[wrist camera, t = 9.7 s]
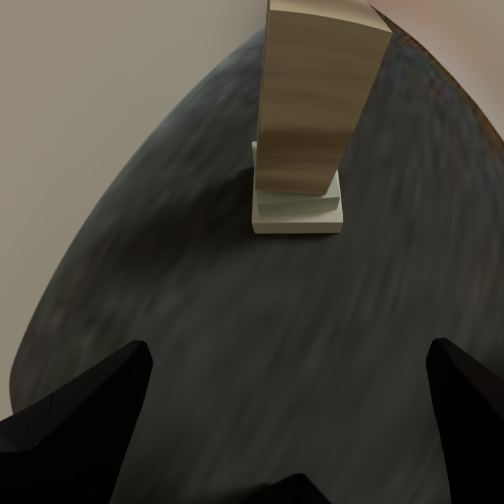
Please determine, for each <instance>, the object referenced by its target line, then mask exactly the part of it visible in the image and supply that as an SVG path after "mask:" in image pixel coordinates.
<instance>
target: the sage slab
mask: <svg viewBox="0 0 504 504" xmlns="http://www.w3.org/2000/svg"><path fill="white" fill-rule="evenodd" d="M252 147H253V159H254V171H255V178H256V152H257V142H252ZM256 195H257V206H258V210H259V214H260V217H269V216H278V215H287V214H296V213H306V212H316V211H326V210H337V208H338V204H339V200H340V193H339V189H338V185H337V180H336V176H335V175H334V178H333V180H332V182H331V184H330V187H329V189H328V191H327V193H326V195H318V194H305V193H292V192H277V191H260V190H256Z"/></svg>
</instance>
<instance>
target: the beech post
mask: <svg viewBox="0 0 504 504" xmlns="http://www.w3.org/2000/svg"><path fill="white" fill-rule="evenodd" d="M391 35H392V31H391V30H390V29H389V28H388V26H387V25H386V24H385V23H384V21H383V20H382V19H381V18H380V17H379V15H378V14H377V13H376V12H375V11H374V9H373V8H372V7H371V6H370V5H369V4H368V3H367V2H366V0H268V3H267V15H266V28H265V41H264V53H263V66H262V79H261V92H260V105H259V119H258V132H257V152H256V178H255V190H260V191H277V192H292V193H305V194H318V195H326V193H327V191H328V189H329V187H330V184H331V182H332V180H333V178H334V175H335V173H336V171H337V169H338V166H339V164H340V162H341V159H342V157H343V155H344V153H345V150H346V148H347V146H348V143H349V141H350V139H351V136H352V134H353V131H354V129H355V127H356V124H357V122H358V120H359V117H360V115H361V112H362V110H363V107H364V105H365V102H366V100H367V98H368V95H369V93H370V90H371V88H372V85H373V83H374V80H375V77H376V75H377V72H378V70H379V67H380V65H381V62H382V59H383V57H384V54H385V51H386V49H387V46H388V43H389V41H390V38H391Z"/></svg>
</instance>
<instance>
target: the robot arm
mask: <svg viewBox="0 0 504 504" xmlns="http://www.w3.org/2000/svg"><path fill="white" fill-rule="evenodd" d="M152 367H153V359H152V356H151V354H150V351H149V349H148V346H147V344H146V342H144V341H139V340H133V341H131V342H130V343H128V344H127V345H125V346H123V347H122V348H120V349H119V350H117V351H116V352H114V353H113V354H111V355H110V356H108V357H107V358H105V359H104V360H102V361H100V362H99V363H97V364H96V365H94V366H93V367H91V368H90V369H88V370H87V371H85V372H83V373H82V374H80V375H79V376H77V377H76V378H74V379H73V380H71V381H69V382H68V383H66V384H65V385H63V386H62V387H60V388H59V389H57V390H55V391H54V393H53V392H52V393H51V394H49V395H48V396H46V397H44V398H43V399H41V400H39V401H38V402H36V403H35V404H33V405H31V406H29V407H27V408H25V409H23V410H22V411H20V412H18V413H16V414H14V415H12V416H10V417H8V418H6V419H4V420H2V421H0V504H109V502H110V499H111V496H112V493H113V490H114V487H115V484H116V480H117V477H118V474H119V471H120V468H121V465H122V462H123V459H124V457H125V454H126V451H127V448H128V445H129V442H130V439H131V436H132V434H133V431H134V428H135V425H136V422H137V420H138V417H139V414H140V411H141V409H142V406H143V402H144V399H145V395H146V391H147V387H148V383H149V379H150V375H151V371H152ZM426 369H427V374H428V380H429V386H430V392H431V398H432V404H433V408H434V413H435V417H436V421H437V425H438V429H439V433H440V438H441V442H442V447H443V452H444V457H445V462H446V468H447V474H448V480H449V487H450V494H451V502H452V504H504V381H503V380H502V379H501V378H499V377H498V376H497V375H495V374H494V373H493V372H491V371H490V370H489V369H487V368H486V367H485V366H483V365H482V364H481V363H479V362H478V361H477V360H475V359H474V358H473V357H471V356H470V355H469V354H467V353H466V352H464V351H463V350H462V349H460V348H459V347H458V346H456V345H455V344H453V343H452V342H451V341H449V340H448V339H446V338H437V339H434V340H433V341H432V343H431V346H430V349H429V352H428V354H427V357H426ZM298 478H303V480H302V481H298V480H297V479H298ZM240 504H332V503H331V502H330V501H329V500H328V499H327V498H326V497H325V496H324V495H323V494H322V493H321V492H320V491H319V490H318V488H317V487H316V486H315V485H314V484H313V483H312V482H311V481H310V480H309V479H308V477H307V476H306V475H305V474H302V473H299V474H296V475H295V476H293V477H291V478H289V479H288V480H286V481H284V482H282V483H280V484H279V483H274V484H272V485H270V486H269V487H267V488H265V489H263V490H261V491H259V492H257V493H255V494H253V495H251V496H249V497H248V500H247V501H245V502H242V503H240Z"/></svg>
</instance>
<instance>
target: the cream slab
mask: <svg viewBox="0 0 504 504" xmlns="http://www.w3.org/2000/svg"><path fill="white" fill-rule="evenodd" d="M335 176H336V180H337V185H338V189H339V193H340V187H339V178H338V170H337V171H336V173H335ZM342 224H343V215H342V205H341V195H340V200H339V204H338V208H337V210H326V211H316V212H306V213H296V214H287V215H278V216H269V217H260V214H259V210H258V206H257V195H256V190H255V171H254V187H253V207H252V226H253V229H254V232H255V234H266V233H340V231H341V228H342Z"/></svg>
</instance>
